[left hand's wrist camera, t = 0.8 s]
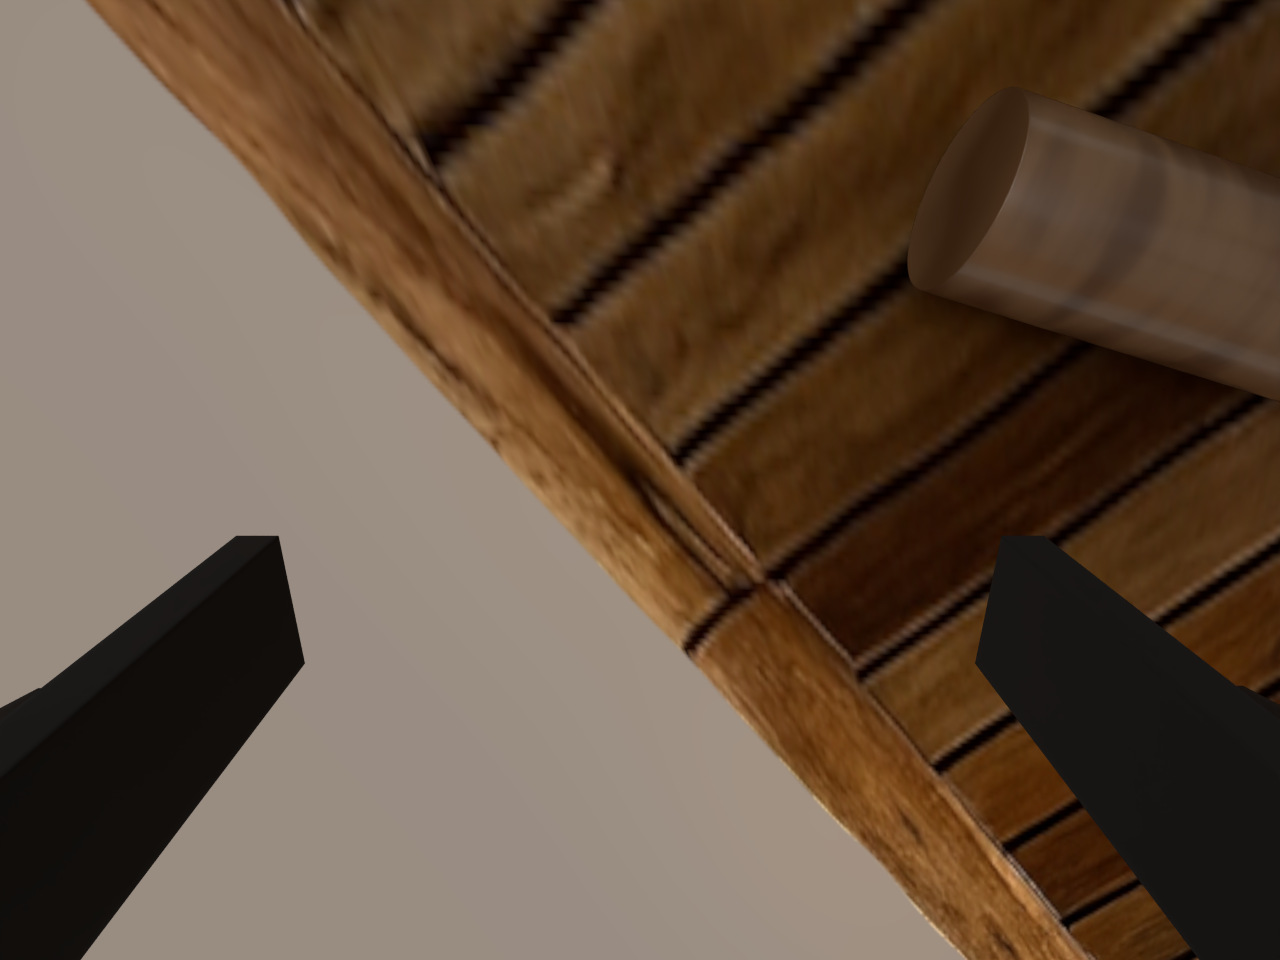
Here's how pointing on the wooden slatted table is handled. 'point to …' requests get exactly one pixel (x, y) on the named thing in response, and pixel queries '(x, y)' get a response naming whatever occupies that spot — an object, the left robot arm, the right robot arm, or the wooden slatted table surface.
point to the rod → (1107, 239)
